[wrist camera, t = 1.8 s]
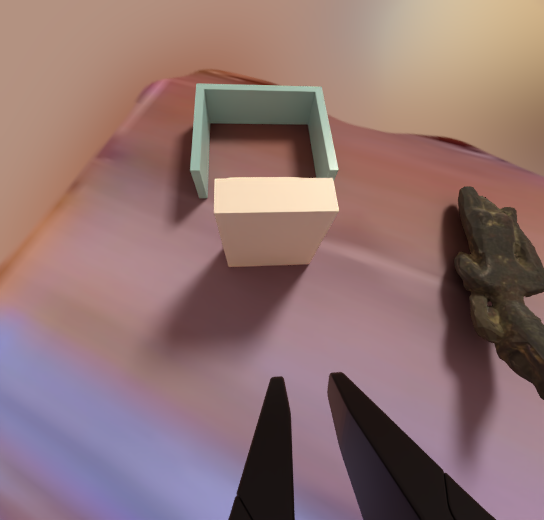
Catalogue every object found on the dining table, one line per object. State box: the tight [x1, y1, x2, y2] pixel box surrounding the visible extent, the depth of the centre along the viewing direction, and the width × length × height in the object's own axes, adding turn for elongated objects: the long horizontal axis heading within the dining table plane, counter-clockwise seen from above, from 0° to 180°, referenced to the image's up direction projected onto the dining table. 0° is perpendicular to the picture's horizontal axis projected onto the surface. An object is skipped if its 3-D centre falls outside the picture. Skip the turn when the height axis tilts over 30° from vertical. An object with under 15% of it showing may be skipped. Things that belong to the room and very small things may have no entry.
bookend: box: [214, 177, 339, 267], centre depth 21 cm, size 10×8×9 cm
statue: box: [454, 187, 544, 400], centre depth 22 cm, size 6×6×20 cm
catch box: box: [190, 84, 338, 198], centre depth 26 cm, size 11×13×4 cm
